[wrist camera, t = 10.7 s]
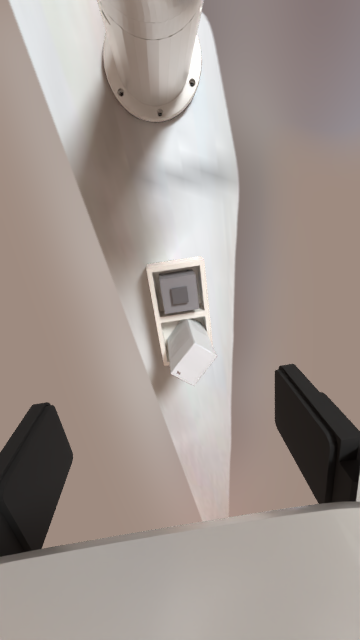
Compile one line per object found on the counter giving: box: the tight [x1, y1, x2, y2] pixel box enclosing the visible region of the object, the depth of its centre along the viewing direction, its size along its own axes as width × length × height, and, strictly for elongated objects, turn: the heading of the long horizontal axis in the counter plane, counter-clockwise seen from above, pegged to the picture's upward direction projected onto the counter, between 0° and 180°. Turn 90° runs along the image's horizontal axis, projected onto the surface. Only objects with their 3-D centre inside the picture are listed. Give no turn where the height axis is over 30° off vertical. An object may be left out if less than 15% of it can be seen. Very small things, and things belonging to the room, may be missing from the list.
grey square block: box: [159, 269, 199, 314], centre depth 43 cm, size 6×6×5 cm
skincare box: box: [167, 318, 217, 386], centre depth 43 cm, size 6×4×12 cm
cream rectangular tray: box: [146, 256, 213, 366], centre depth 46 cm, size 18×9×4 cm, turn 8°
